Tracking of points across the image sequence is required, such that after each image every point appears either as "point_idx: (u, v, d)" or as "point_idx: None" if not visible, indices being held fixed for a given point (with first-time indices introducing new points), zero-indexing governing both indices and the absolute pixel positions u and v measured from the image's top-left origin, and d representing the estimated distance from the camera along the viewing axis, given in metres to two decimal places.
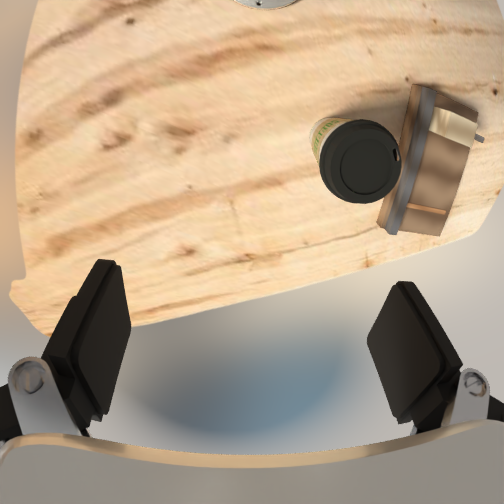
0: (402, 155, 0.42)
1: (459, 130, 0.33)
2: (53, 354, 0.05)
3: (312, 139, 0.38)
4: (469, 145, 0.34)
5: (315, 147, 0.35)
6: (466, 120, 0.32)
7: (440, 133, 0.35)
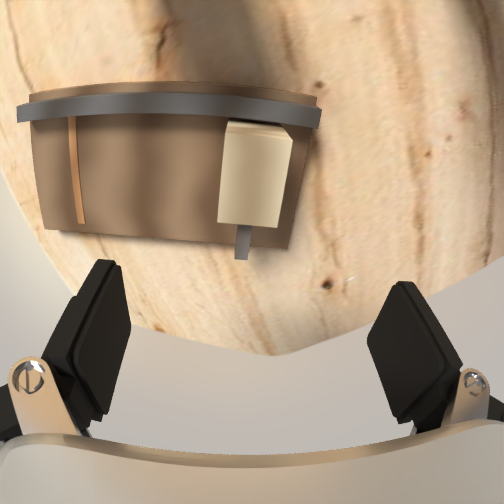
0: (162, 82, 0.20)
1: (252, 173, 0.18)
2: (53, 354, 0.05)
3: None
4: (221, 213, 0.20)
5: None
6: (279, 191, 0.19)
7: (230, 129, 0.18)
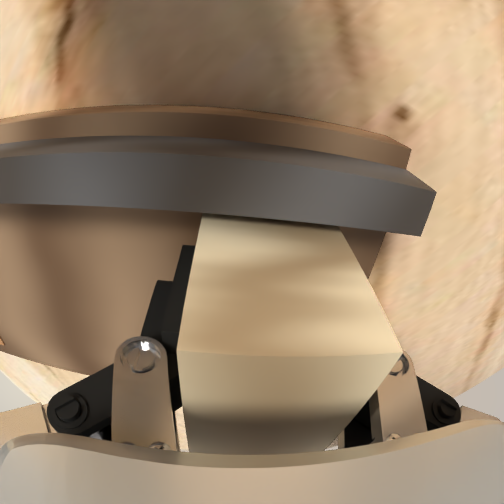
0: (54, 117, 0.08)
1: (269, 420, 0.06)
2: (168, 331, 0.07)
3: None
4: None
5: None
6: (333, 432, 0.07)
7: (199, 298, 0.06)
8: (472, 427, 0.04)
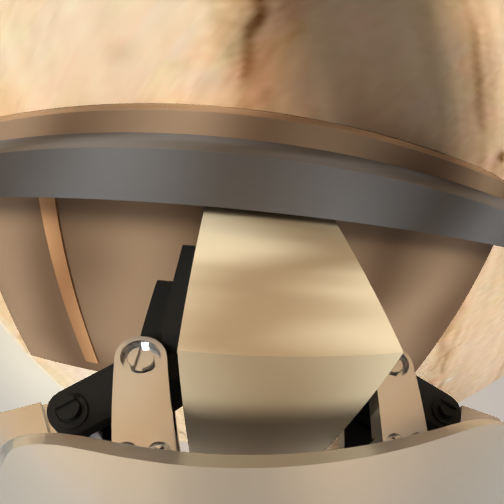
0: (274, 119, 0.09)
1: (270, 420, 0.06)
2: (168, 330, 0.07)
3: None
4: None
5: None
6: (334, 432, 0.07)
7: (199, 298, 0.06)
8: (472, 427, 0.04)
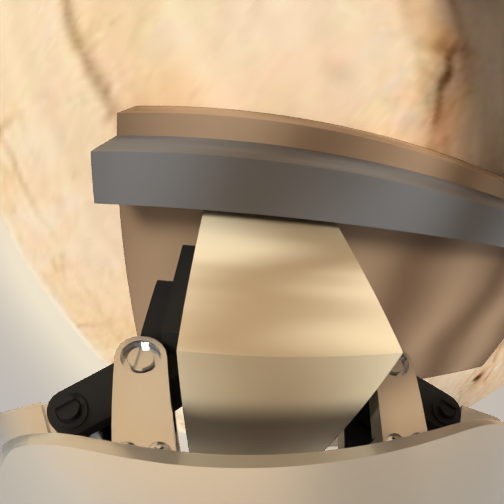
0: (469, 169, 0.10)
1: (269, 420, 0.06)
2: (168, 331, 0.07)
3: None
4: None
5: None
6: (333, 432, 0.07)
7: (199, 298, 0.06)
8: (472, 427, 0.04)
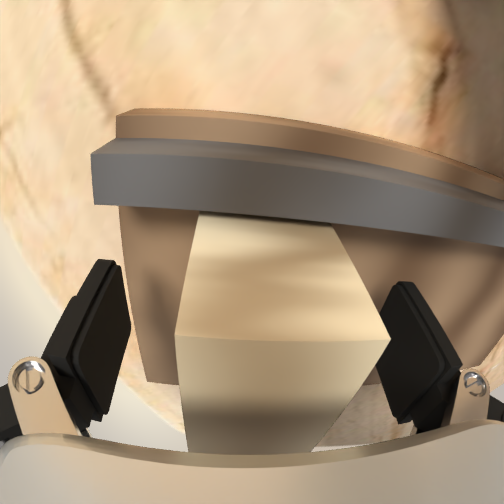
0: (464, 169, 0.10)
1: (264, 407, 0.06)
2: (53, 354, 0.05)
3: None
4: (195, 447, 0.08)
5: None
6: (327, 421, 0.07)
7: (196, 288, 0.06)
8: (472, 427, 0.04)
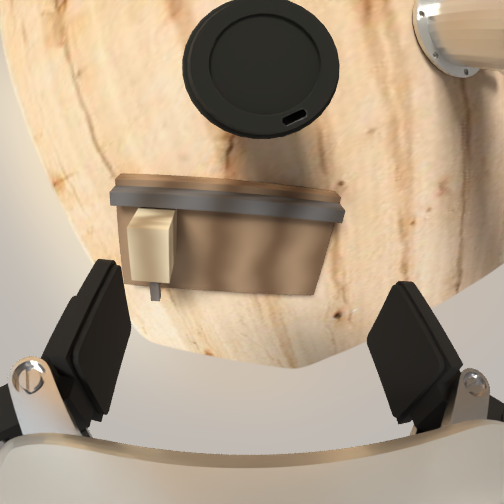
0: (235, 185, 0.32)
1: (147, 251, 0.28)
2: (53, 354, 0.05)
3: None
4: (133, 275, 0.29)
5: None
6: (166, 261, 0.29)
7: (132, 221, 0.28)
8: (472, 427, 0.04)
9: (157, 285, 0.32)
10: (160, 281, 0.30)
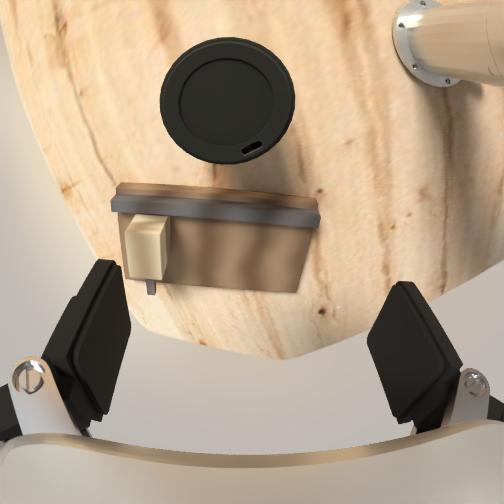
0: (220, 194, 0.36)
1: (142, 252, 0.32)
2: (53, 354, 0.05)
3: None
4: (131, 272, 0.34)
5: None
6: (158, 261, 0.33)
7: (130, 227, 0.32)
8: (472, 427, 0.04)
9: (152, 281, 0.37)
10: (154, 278, 0.34)
